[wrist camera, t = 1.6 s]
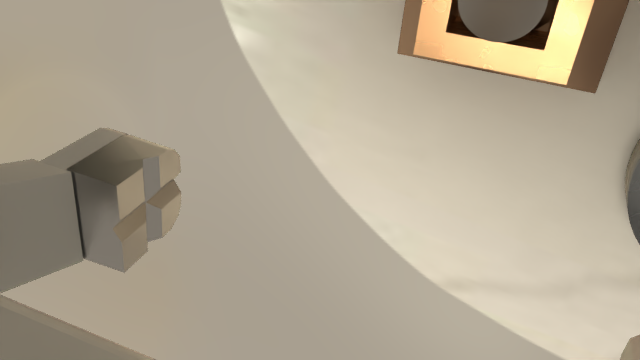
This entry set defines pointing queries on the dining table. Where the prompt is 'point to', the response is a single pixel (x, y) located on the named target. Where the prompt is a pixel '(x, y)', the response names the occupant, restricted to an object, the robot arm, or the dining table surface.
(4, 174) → the robot arm
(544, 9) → the walnut stand
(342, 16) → the dining table surface
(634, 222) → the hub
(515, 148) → the dining table surface
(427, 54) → the wooden square frame
